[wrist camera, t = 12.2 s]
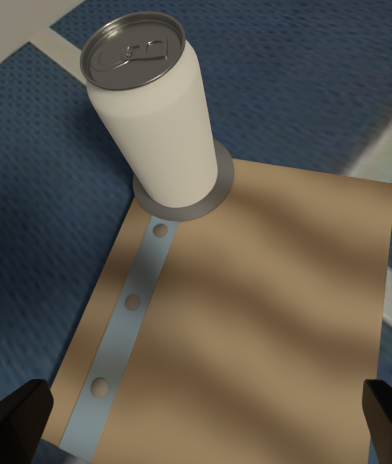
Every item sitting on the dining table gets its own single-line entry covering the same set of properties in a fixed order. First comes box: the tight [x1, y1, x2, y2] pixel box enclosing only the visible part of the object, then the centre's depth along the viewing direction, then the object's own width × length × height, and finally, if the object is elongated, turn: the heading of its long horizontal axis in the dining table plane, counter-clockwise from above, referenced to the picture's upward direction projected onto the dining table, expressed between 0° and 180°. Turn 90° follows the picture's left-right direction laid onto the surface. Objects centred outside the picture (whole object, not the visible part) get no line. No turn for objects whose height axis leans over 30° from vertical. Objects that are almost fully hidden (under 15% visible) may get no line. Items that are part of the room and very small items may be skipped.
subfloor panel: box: [41, 139, 392, 464], centre depth 23 cm, size 26×21×1 cm
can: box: [80, 11, 218, 208], centre depth 21 cm, size 6×6×12 cm
